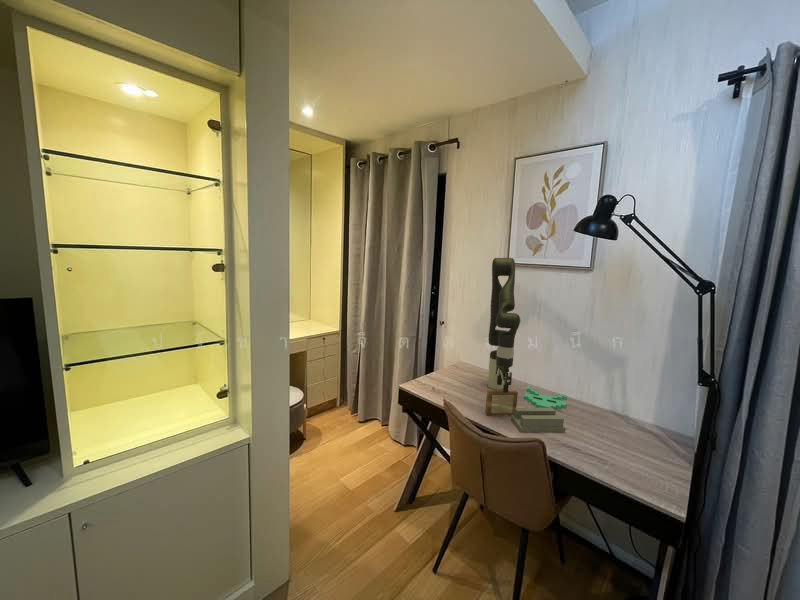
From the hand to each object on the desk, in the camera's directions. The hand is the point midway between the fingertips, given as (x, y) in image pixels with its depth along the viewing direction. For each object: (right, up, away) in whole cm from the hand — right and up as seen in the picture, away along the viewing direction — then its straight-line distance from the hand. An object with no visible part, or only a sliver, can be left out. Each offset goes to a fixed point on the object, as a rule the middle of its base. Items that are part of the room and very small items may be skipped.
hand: (502, 388), depth 159 cm
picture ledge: (+14, -15, -7) cm, 21 cm away
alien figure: (+28, -12, +18) cm, 35 cm away
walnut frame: (0, -13, +2) cm, 13 cm away
